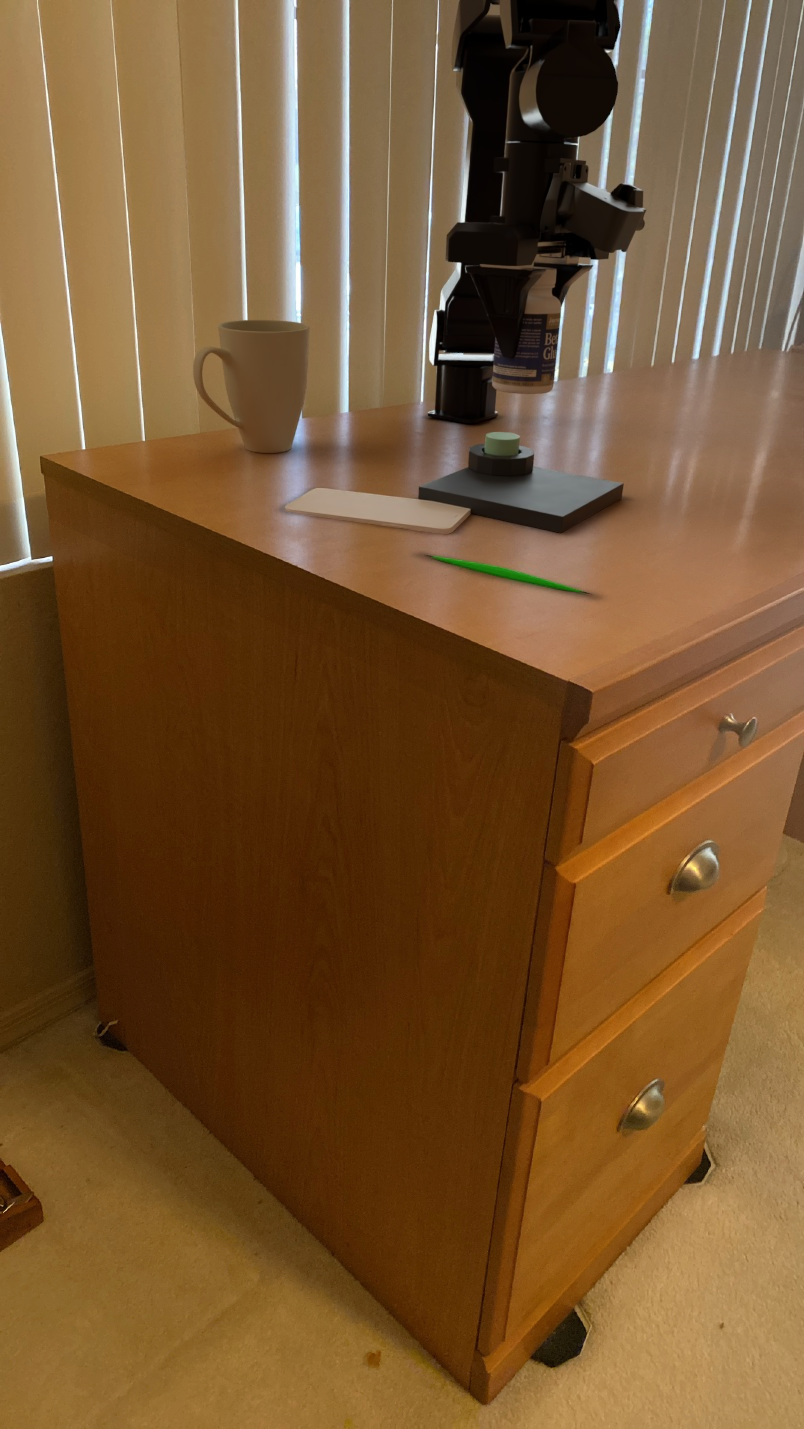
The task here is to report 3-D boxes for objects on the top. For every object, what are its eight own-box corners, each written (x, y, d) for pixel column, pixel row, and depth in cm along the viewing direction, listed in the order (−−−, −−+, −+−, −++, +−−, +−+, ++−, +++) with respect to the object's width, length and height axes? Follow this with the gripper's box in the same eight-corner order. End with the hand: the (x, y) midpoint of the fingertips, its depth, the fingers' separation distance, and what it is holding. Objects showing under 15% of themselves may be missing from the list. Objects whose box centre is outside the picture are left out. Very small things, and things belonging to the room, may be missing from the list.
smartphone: (316, 486, 89) (474, 505, 85) (316, 494, 90) (473, 514, 85) (281, 508, 83) (449, 529, 79) (281, 517, 84) (448, 538, 79)
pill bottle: (551, 397, 83) (563, 270, 78) (488, 393, 84) (496, 267, 79) (555, 386, 87) (566, 266, 83) (495, 382, 88) (503, 264, 84)
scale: (412, 500, 87) (414, 467, 86) (486, 470, 97) (488, 439, 96) (561, 533, 80) (565, 497, 79) (624, 496, 90) (628, 464, 89)
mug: (234, 434, 107) (228, 317, 102) (321, 441, 106) (320, 322, 100) (195, 457, 98) (186, 330, 92) (290, 466, 96) (287, 336, 91)
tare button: (478, 454, 92) (479, 435, 91) (494, 448, 94) (495, 430, 93) (508, 460, 90) (509, 441, 90) (524, 453, 93) (525, 435, 92)
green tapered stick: (425, 557, 75) (425, 547, 75) (596, 598, 69) (598, 587, 68) (419, 561, 74) (419, 551, 74) (591, 602, 68) (593, 591, 68)
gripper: (588, 136, 66) (563, 378, 73) (680, 151, 80) (652, 352, 87) (447, 136, 71) (437, 361, 79) (557, 150, 85) (539, 340, 93)
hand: (524, 353), depth 84 cm, fingers closed on pill bottle, 5 cm apart
